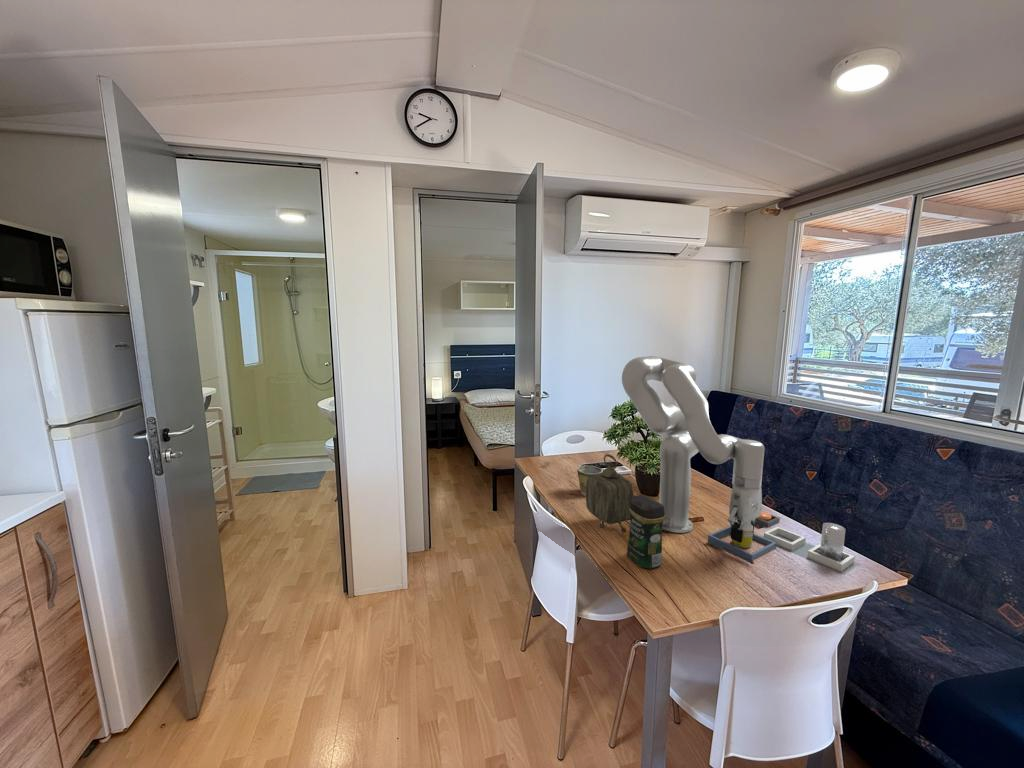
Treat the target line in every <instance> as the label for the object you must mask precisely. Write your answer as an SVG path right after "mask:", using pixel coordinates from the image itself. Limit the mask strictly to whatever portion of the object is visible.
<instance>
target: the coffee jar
mask: <svg viewBox="0 0 1024 768" xmlns="http://www.w3.org/2000/svg"><path fill="white" fill-rule="evenodd" d="M629 511H630V520H629V530H628V531H629V532H628V540H627V550H626V554H627V557H629V559H631V560H632V562H633V563H635V564H636V565H638V567H640V568H642V569H650V570H651V569H656V568H659V567H660V566H661V565H662V564H663V543H662V542H663V529H662V525H663V521H664V518H665V511H664V506H663V505H662V504H660V503H659V501H657V500H656V499H654V498H651V497H649V496H647V495H646V494H637V495H633V497H632V498H631V500H630V506H629Z"/></svg>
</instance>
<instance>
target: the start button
mask: <svg viewBox="0 0 1024 768" xmlns="http://www.w3.org/2000/svg"><path fill="white" fill-rule="evenodd" d="M771 515H772V514H771ZM771 515H770V513H769V512H766V511H762V510H761V515H760V516H759V517H757V518H759V519H762V520H764V521H767V522H768V521H770V520H771Z"/></svg>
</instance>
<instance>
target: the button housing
mask: <svg viewBox="0 0 1024 768" xmlns="http://www.w3.org/2000/svg"><path fill="white" fill-rule="evenodd" d="M769 514H770V513H769ZM770 515H771V520H770V521H768V522H767V521H764V520H762V519H759V518H756V519H755V524H753V525H754V526H757V527H759V528H762V529H764V528H770V527H772V526H774V525H776V524H778V523H780V520H781V519H780V517H778V516H776V515H774V514H773V515H772V514H770Z"/></svg>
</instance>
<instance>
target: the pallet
mask: <svg viewBox="0 0 1024 768" xmlns="http://www.w3.org/2000/svg"><path fill="white" fill-rule="evenodd" d="M761 537H763V538H766V539H768V540H771V541H773V542H775V543H777V544H776V547H778V548H780V549H783V550H785V551H788V552H790V553H792V554H795V555H797V556H799V557H801V558H804V559H806V560H809V561H811V562H814V563H816V564H817V565H820V566H823V567H826V568H828V569H830V570H833V571H834V572H837V573H839V574H841V575H846V574H847V573H849V572H850V571H851V570H853V569H854V568H856V567H857V566H858V565H860V563H859V562H856V561H855V557H856V556H854V555H852V554H851V553H850V554H849V553H847V552H845V551H843V556H842V561H841V562H838V561H835V560H833V559H830V558H828V557H825V556H823V555H820V546H821V542H820V543H819V544H817V545H813V544H811V543H808V542H806V541H807V540H806V539H807V538H806V536H803V535H800V534H798V533H795V532H793V531H789V530H787V529H784V528H782V527H779V526H776V527H774V528H771V529H769V530H767V531H765V532H764V533H763V536H761Z"/></svg>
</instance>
